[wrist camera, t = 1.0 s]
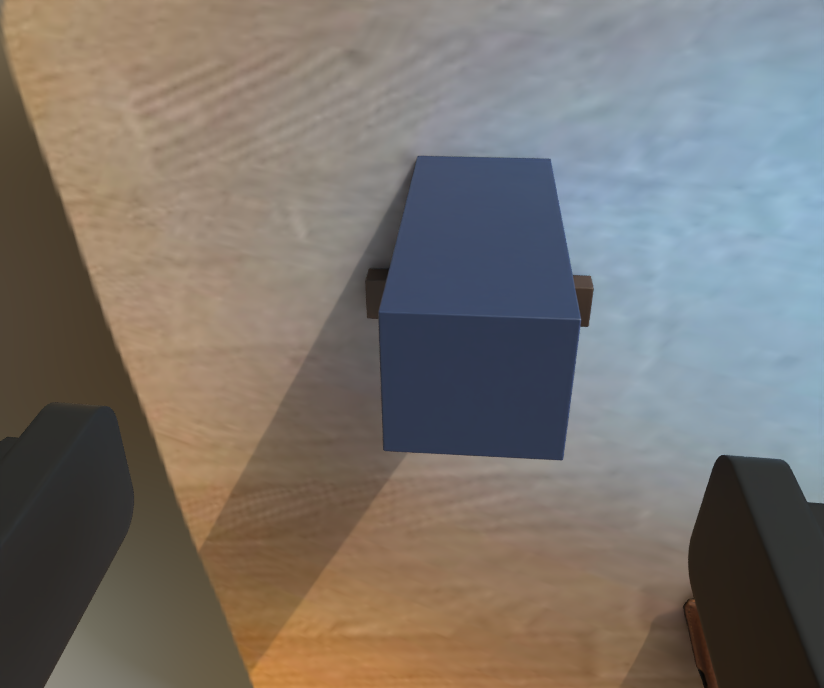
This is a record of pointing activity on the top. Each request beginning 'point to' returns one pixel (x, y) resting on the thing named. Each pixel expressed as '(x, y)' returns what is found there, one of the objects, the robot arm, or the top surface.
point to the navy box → (479, 313)
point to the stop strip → (378, 276)
